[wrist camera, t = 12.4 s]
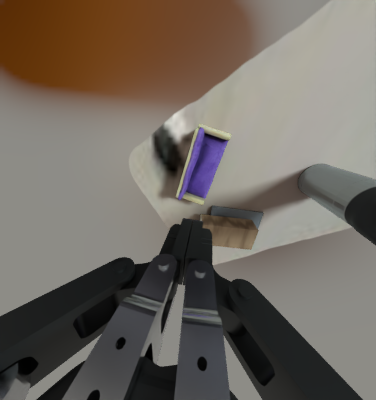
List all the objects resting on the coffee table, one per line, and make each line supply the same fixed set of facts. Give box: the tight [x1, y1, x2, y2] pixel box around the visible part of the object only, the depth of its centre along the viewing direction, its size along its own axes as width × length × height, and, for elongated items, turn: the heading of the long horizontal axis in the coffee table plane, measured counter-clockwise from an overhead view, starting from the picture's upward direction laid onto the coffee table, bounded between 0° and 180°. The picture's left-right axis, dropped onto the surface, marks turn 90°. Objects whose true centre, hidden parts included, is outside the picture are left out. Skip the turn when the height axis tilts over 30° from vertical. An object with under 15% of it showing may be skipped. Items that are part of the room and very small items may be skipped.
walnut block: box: [199, 214, 258, 250], centre depth 50 cm, size 6×8×18 cm
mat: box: [211, 206, 263, 229], centre depth 52 cm, size 17×14×2 cm
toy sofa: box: [176, 124, 231, 205], centre depth 41 cm, size 21×9×10 cm, turn 163°
